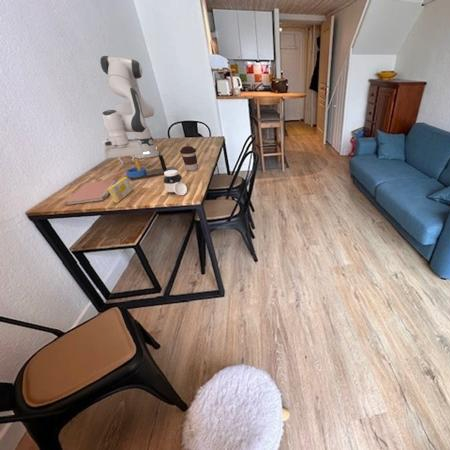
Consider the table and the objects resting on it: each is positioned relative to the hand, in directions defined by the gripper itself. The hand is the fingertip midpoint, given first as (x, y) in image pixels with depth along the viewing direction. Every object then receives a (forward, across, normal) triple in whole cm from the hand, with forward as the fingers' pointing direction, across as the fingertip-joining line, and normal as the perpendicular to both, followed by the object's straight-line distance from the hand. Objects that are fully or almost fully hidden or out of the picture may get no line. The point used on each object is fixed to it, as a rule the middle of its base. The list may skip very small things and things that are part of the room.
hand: (128, 163), depth 155 cm
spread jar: (+10, -20, +41) cm, 47 cm away
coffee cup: (+10, -36, +4) cm, 37 cm away
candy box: (+10, +6, +30) cm, 32 cm away
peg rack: (+9, -12, 0) cm, 15 cm away
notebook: (+10, +20, +16) cm, 27 cm away
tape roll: (+8, -2, 0) cm, 8 cm away
